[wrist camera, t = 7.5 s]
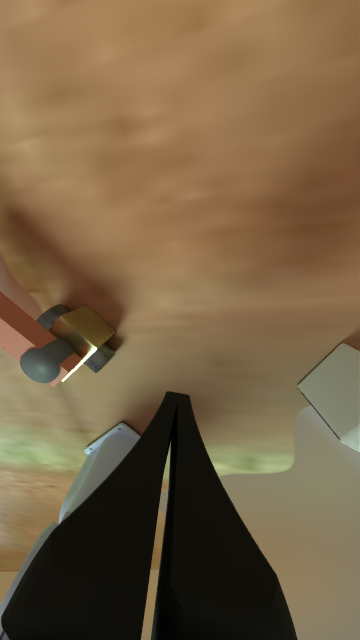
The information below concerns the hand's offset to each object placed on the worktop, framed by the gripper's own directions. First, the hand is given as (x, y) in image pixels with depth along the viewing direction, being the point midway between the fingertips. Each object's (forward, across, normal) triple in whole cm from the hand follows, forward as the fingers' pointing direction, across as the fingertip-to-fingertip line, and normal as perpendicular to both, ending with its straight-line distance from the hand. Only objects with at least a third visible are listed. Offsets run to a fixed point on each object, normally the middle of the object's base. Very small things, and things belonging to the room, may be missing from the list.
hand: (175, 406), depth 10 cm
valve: (+10, +12, +2) cm, 16 cm away
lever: (+6, +16, -1) cm, 17 cm away
